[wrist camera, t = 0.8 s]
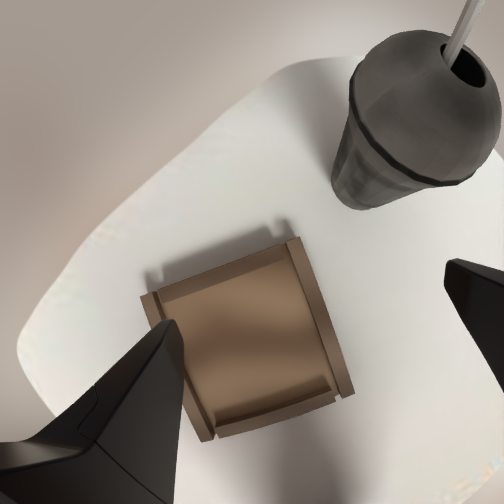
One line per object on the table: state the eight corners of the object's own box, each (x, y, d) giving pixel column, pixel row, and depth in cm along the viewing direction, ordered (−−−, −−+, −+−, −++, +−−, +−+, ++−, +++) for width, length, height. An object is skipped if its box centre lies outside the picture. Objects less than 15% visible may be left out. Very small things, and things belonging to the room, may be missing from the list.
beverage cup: (390, 241, 22) (630, 156, 2) (301, 209, 23) (411, -32, 3) (407, 159, 23) (569, 3, 3) (326, 127, 23) (404, -102, 3)
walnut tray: (349, 386, 21) (355, 393, 20) (204, 433, 22) (201, 442, 20) (297, 239, 23) (299, 236, 21) (147, 295, 23) (139, 296, 21)
